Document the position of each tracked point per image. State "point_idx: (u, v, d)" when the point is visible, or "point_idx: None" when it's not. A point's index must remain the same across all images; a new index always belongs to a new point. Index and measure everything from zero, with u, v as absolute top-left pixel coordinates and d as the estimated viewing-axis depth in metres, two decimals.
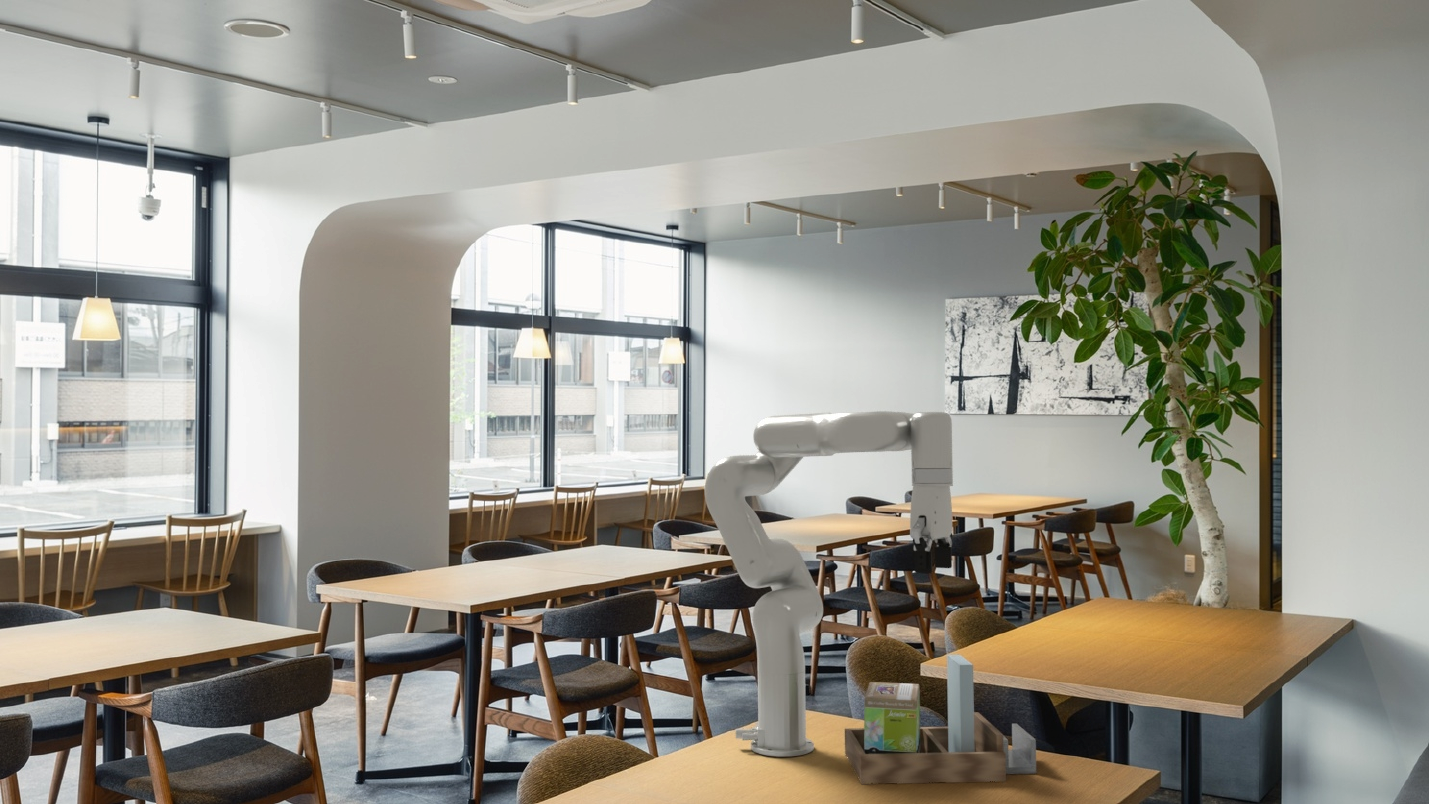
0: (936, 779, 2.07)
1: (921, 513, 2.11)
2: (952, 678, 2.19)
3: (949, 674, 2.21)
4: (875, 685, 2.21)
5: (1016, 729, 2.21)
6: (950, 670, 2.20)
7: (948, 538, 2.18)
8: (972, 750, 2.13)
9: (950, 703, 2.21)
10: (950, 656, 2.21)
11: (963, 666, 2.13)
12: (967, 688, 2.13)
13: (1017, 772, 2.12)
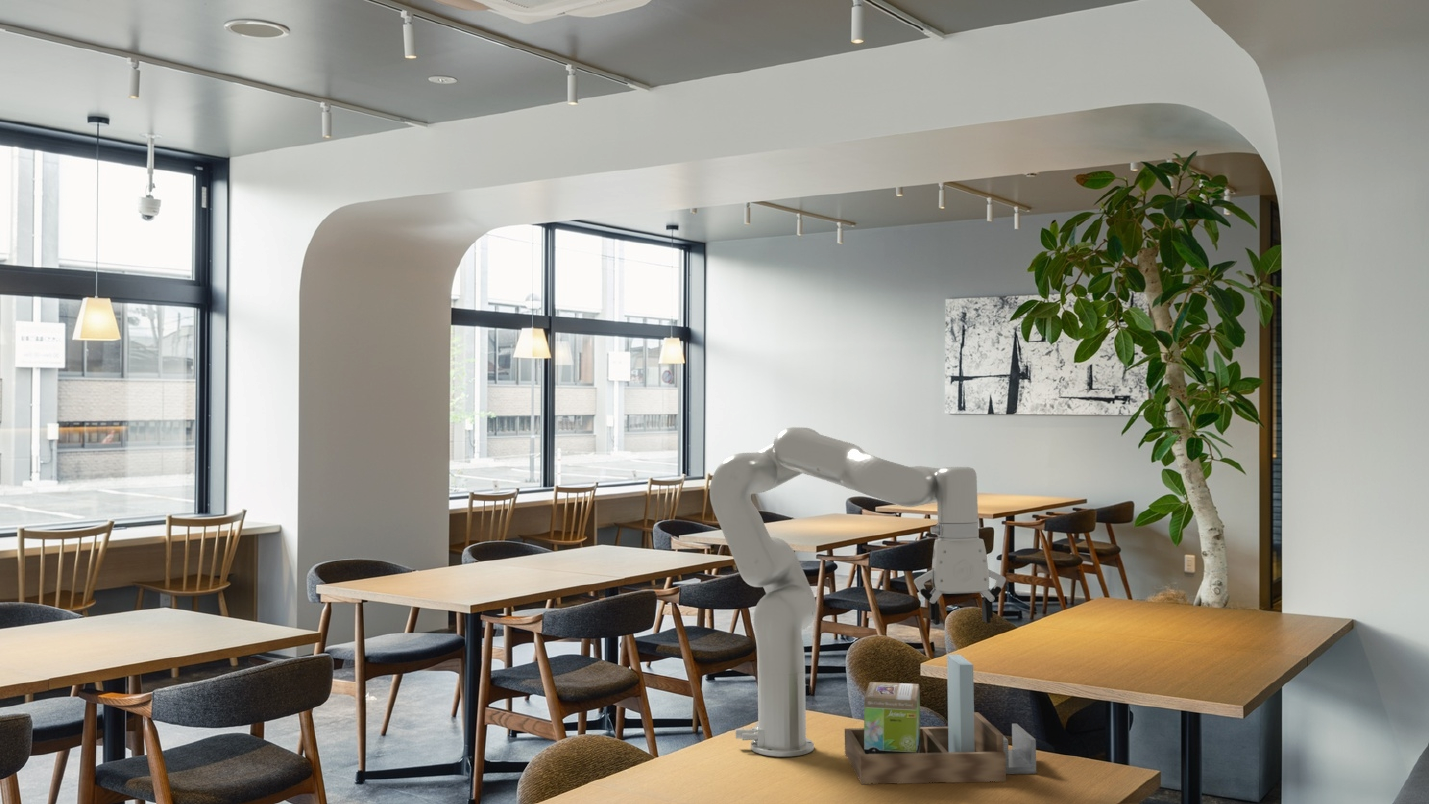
0: (936, 779, 2.07)
1: None
2: (952, 678, 2.19)
3: (949, 674, 2.21)
4: (875, 685, 2.22)
5: (1016, 729, 2.21)
6: (950, 670, 2.20)
7: None
8: (972, 750, 2.13)
9: (950, 703, 2.21)
10: (950, 656, 2.21)
11: (963, 666, 2.13)
12: (967, 688, 2.13)
13: (1017, 772, 2.12)
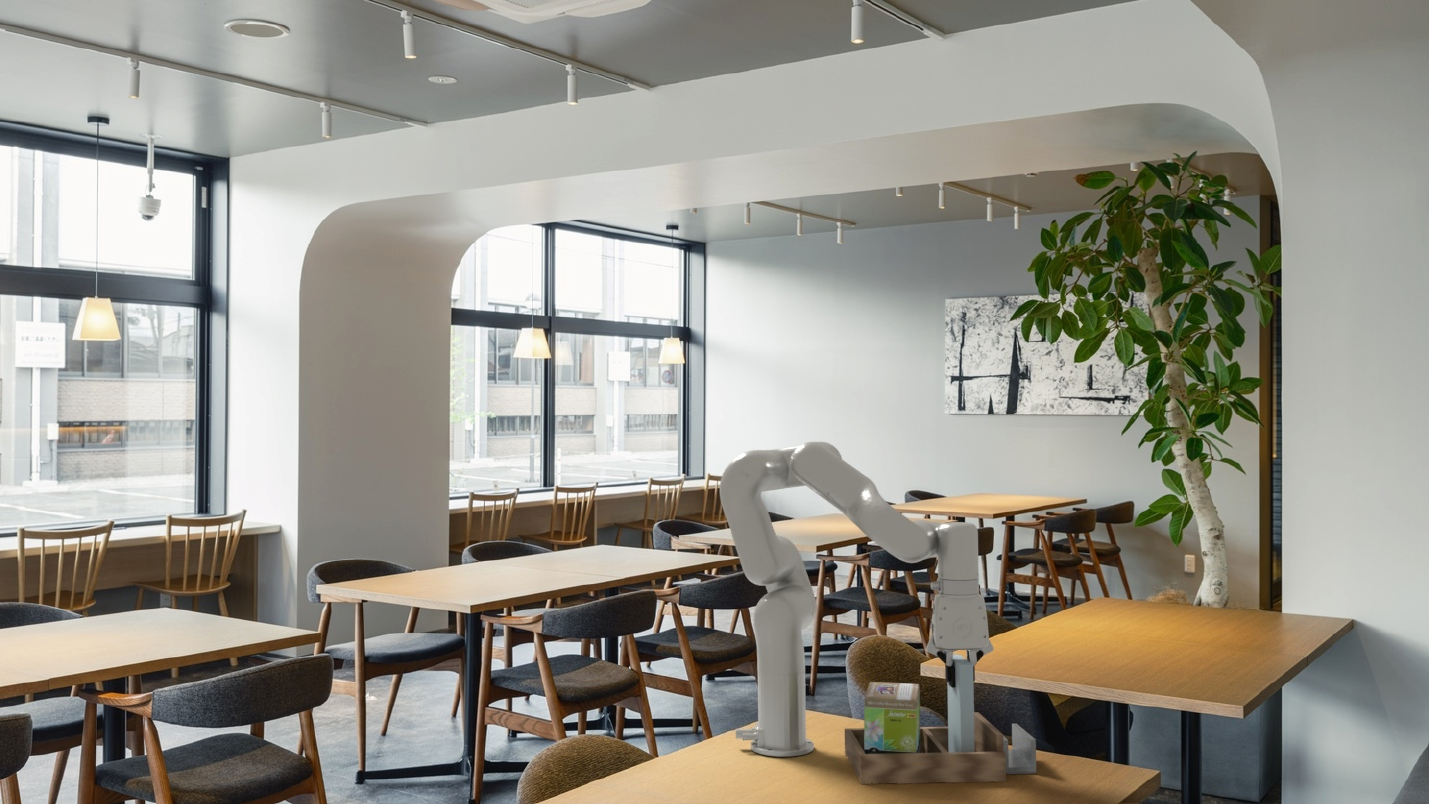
0: (936, 779, 2.07)
1: None
2: None
3: None
4: (875, 685, 2.21)
5: (1016, 729, 2.21)
6: None
7: None
8: (972, 750, 2.13)
9: (950, 703, 2.21)
10: None
11: (963, 666, 2.13)
12: (967, 688, 2.13)
13: (1017, 772, 2.12)
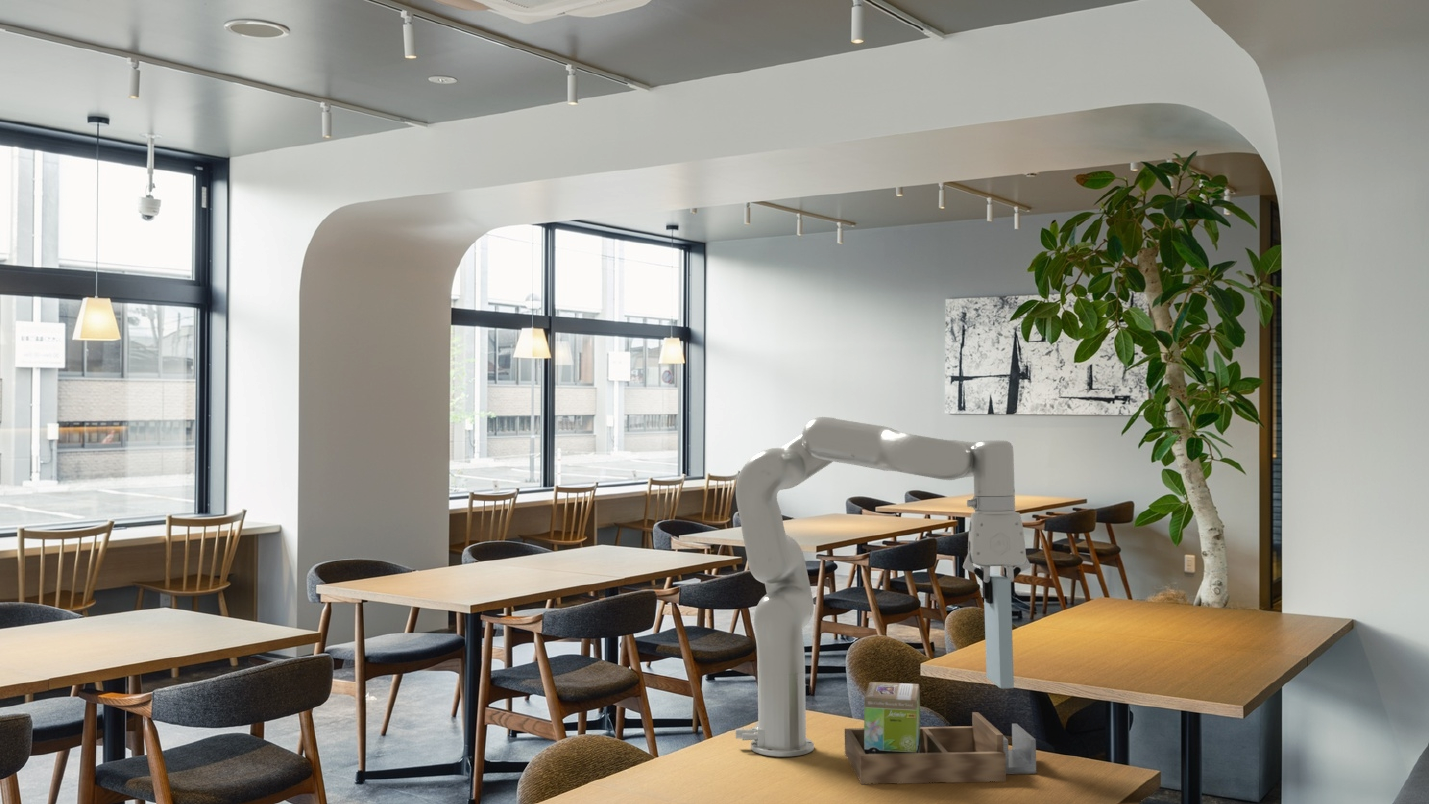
0: (936, 779, 2.07)
1: None
2: None
3: None
4: (875, 685, 2.21)
5: (1016, 729, 2.21)
6: None
7: None
8: (1011, 664, 2.14)
9: (987, 621, 2.22)
10: None
11: (1001, 581, 2.14)
12: (1005, 603, 2.14)
13: (1017, 772, 2.12)
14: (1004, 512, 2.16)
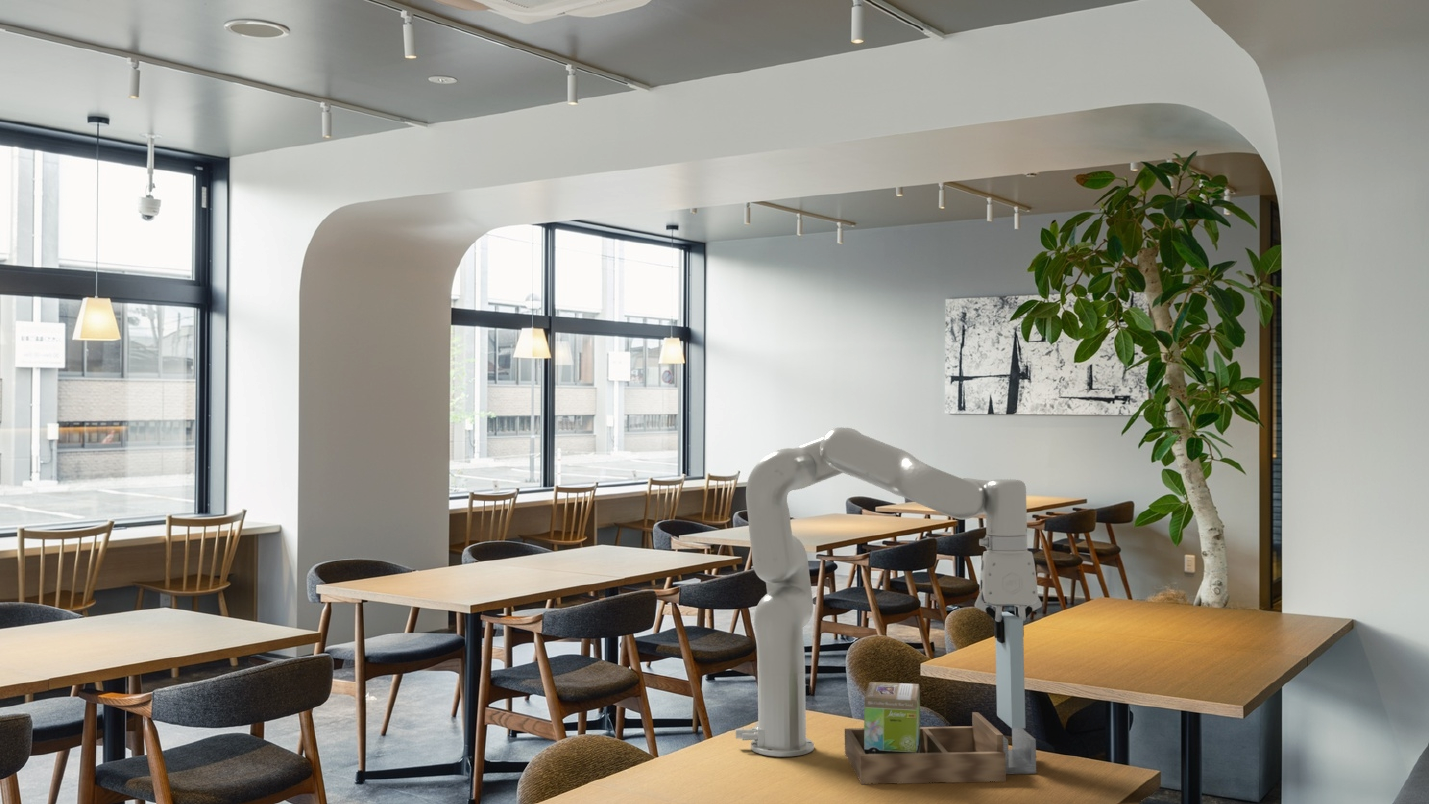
0: (936, 779, 2.07)
1: None
2: None
3: None
4: (875, 685, 2.21)
5: (1016, 729, 2.21)
6: None
7: None
8: (1022, 704, 2.14)
9: (999, 659, 2.22)
10: None
11: (1013, 621, 2.14)
12: (1017, 643, 2.14)
13: (1017, 772, 2.12)
14: (1017, 552, 2.16)
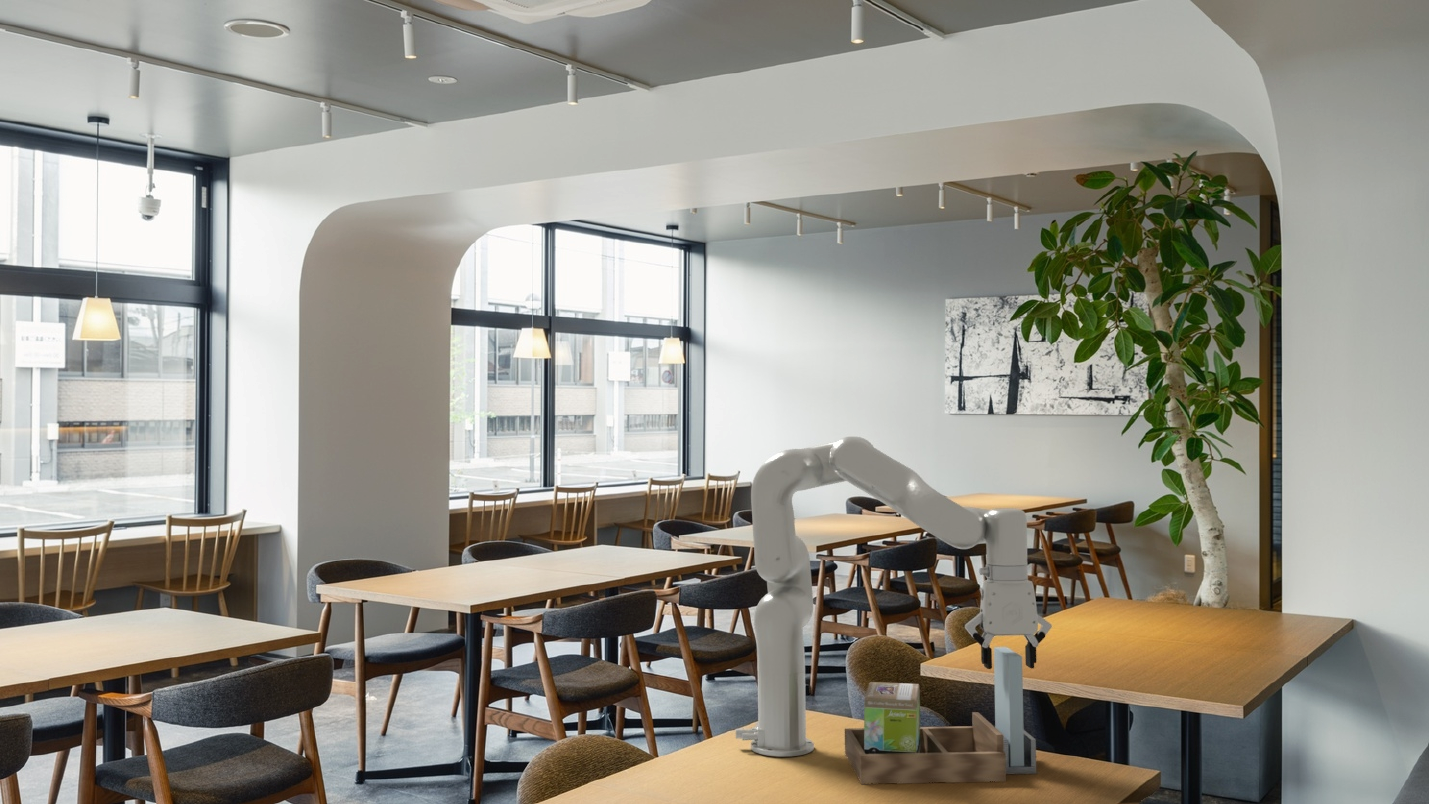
0: (936, 779, 2.07)
1: None
2: (1000, 670, 2.20)
3: (996, 666, 2.22)
4: (875, 685, 2.21)
5: None
6: (998, 662, 2.21)
7: None
8: (1021, 742, 2.13)
9: (997, 695, 2.21)
10: (997, 648, 2.22)
11: (1012, 658, 2.14)
12: (1016, 680, 2.14)
13: (1017, 772, 2.12)
14: (1017, 582, 2.16)
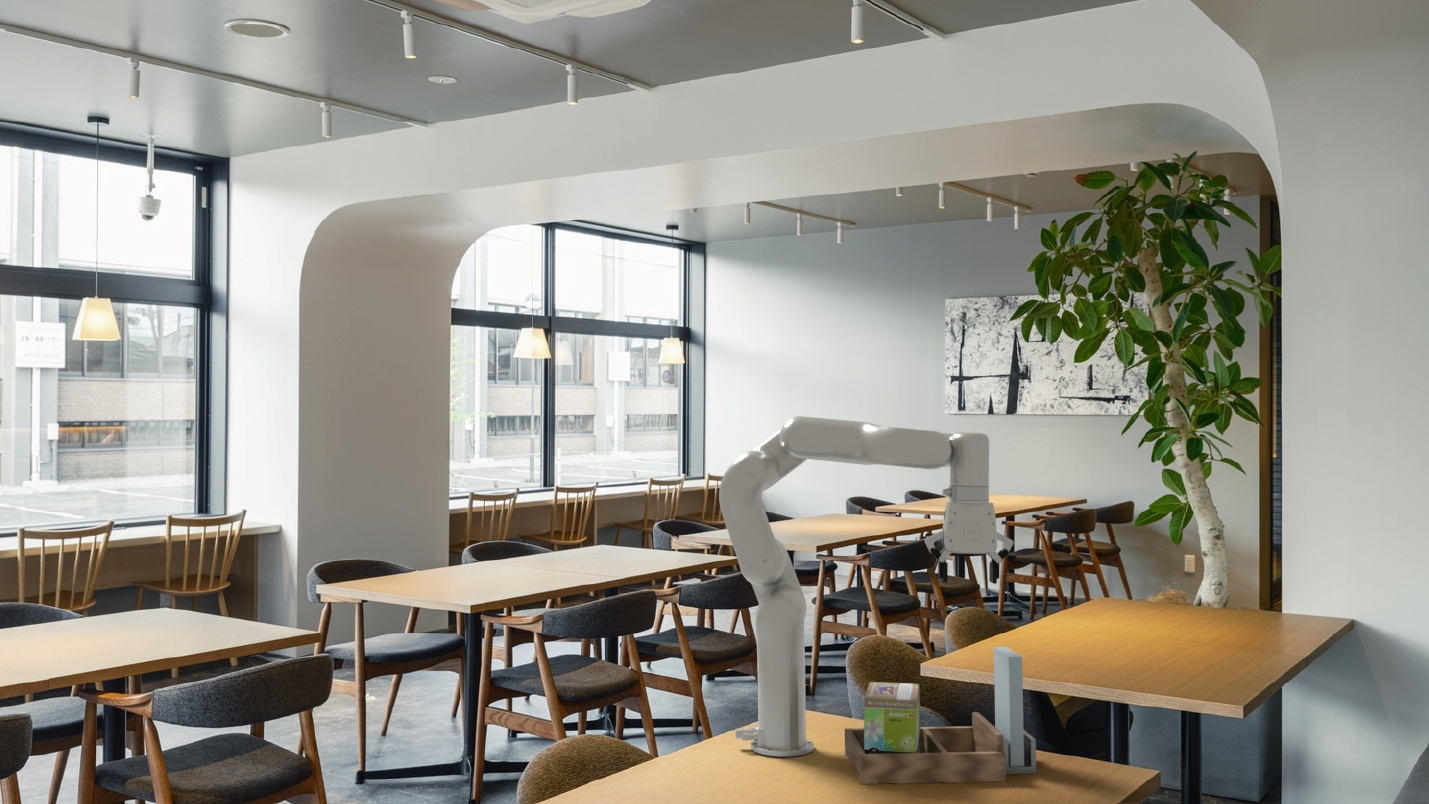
0: (936, 779, 2.07)
1: None
2: (1000, 670, 2.20)
3: (996, 666, 2.22)
4: (875, 685, 2.21)
5: None
6: (998, 662, 2.21)
7: None
8: (1021, 742, 2.13)
9: (997, 695, 2.21)
10: (997, 648, 2.22)
11: (1012, 658, 2.14)
12: (1016, 680, 2.14)
13: (1017, 772, 2.12)
14: (977, 502, 2.24)
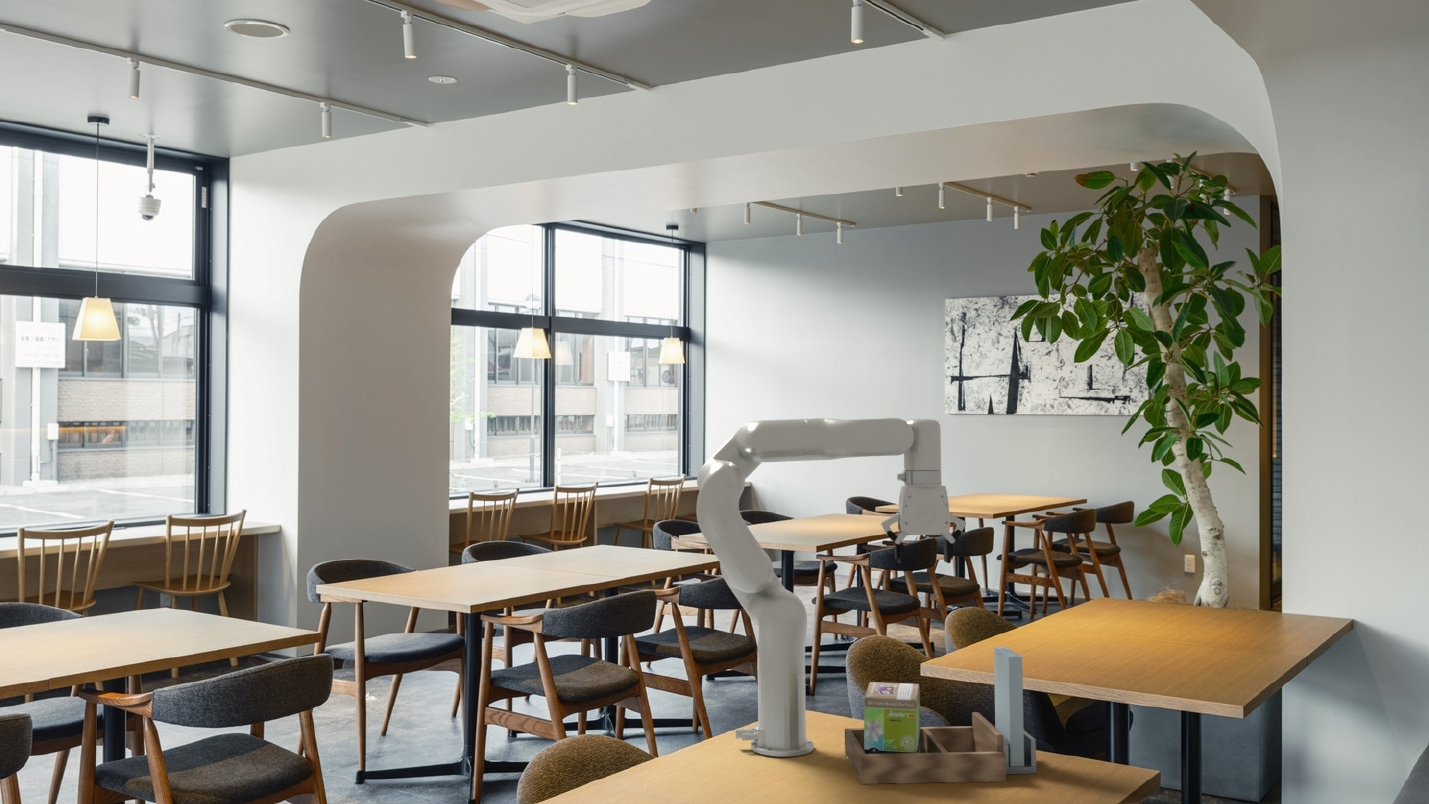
0: (936, 779, 2.07)
1: None
2: (1000, 670, 2.20)
3: (996, 666, 2.22)
4: (875, 685, 2.21)
5: None
6: (998, 662, 2.21)
7: None
8: (1021, 742, 2.13)
9: (997, 695, 2.21)
10: (997, 648, 2.22)
11: (1012, 658, 2.14)
12: (1016, 680, 2.14)
13: (1017, 772, 2.12)
14: (930, 485, 2.34)
